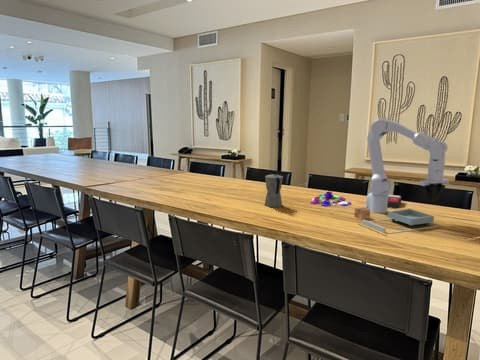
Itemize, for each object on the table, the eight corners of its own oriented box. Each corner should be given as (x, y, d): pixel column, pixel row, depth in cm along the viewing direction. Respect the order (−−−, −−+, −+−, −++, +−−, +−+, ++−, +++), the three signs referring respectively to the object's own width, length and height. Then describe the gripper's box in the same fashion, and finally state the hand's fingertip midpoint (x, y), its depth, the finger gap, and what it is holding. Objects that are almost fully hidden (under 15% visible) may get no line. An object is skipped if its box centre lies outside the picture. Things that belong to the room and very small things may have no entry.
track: (358, 224, 144) (358, 218, 144) (408, 218, 154) (408, 212, 154) (386, 236, 130) (387, 229, 129) (440, 228, 140) (440, 222, 139)
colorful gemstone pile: (338, 210, 170) (338, 201, 169) (302, 203, 184) (303, 195, 183) (359, 201, 188) (360, 193, 187) (326, 196, 202) (326, 188, 201)
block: (354, 218, 154) (355, 207, 153) (362, 217, 155) (363, 206, 154) (361, 221, 150) (361, 210, 149) (369, 220, 151) (370, 209, 150)
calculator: (375, 199, 176) (379, 192, 189) (374, 207, 177) (379, 200, 190) (398, 202, 171) (401, 195, 184) (398, 210, 172) (401, 202, 185)
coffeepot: (261, 202, 182) (262, 169, 179) (278, 202, 184) (279, 168, 180) (268, 209, 167) (269, 173, 164) (287, 209, 169) (288, 173, 166)
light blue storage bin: (387, 220, 147) (388, 211, 147) (408, 218, 152) (409, 209, 151) (410, 229, 136) (411, 219, 136) (432, 225, 141) (434, 216, 140)
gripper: (431, 171, 138) (428, 204, 141) (457, 170, 143) (453, 201, 146) (417, 169, 145) (414, 200, 147) (441, 168, 150) (438, 198, 152)
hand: (432, 201), depth 147 cm, fingers closed
